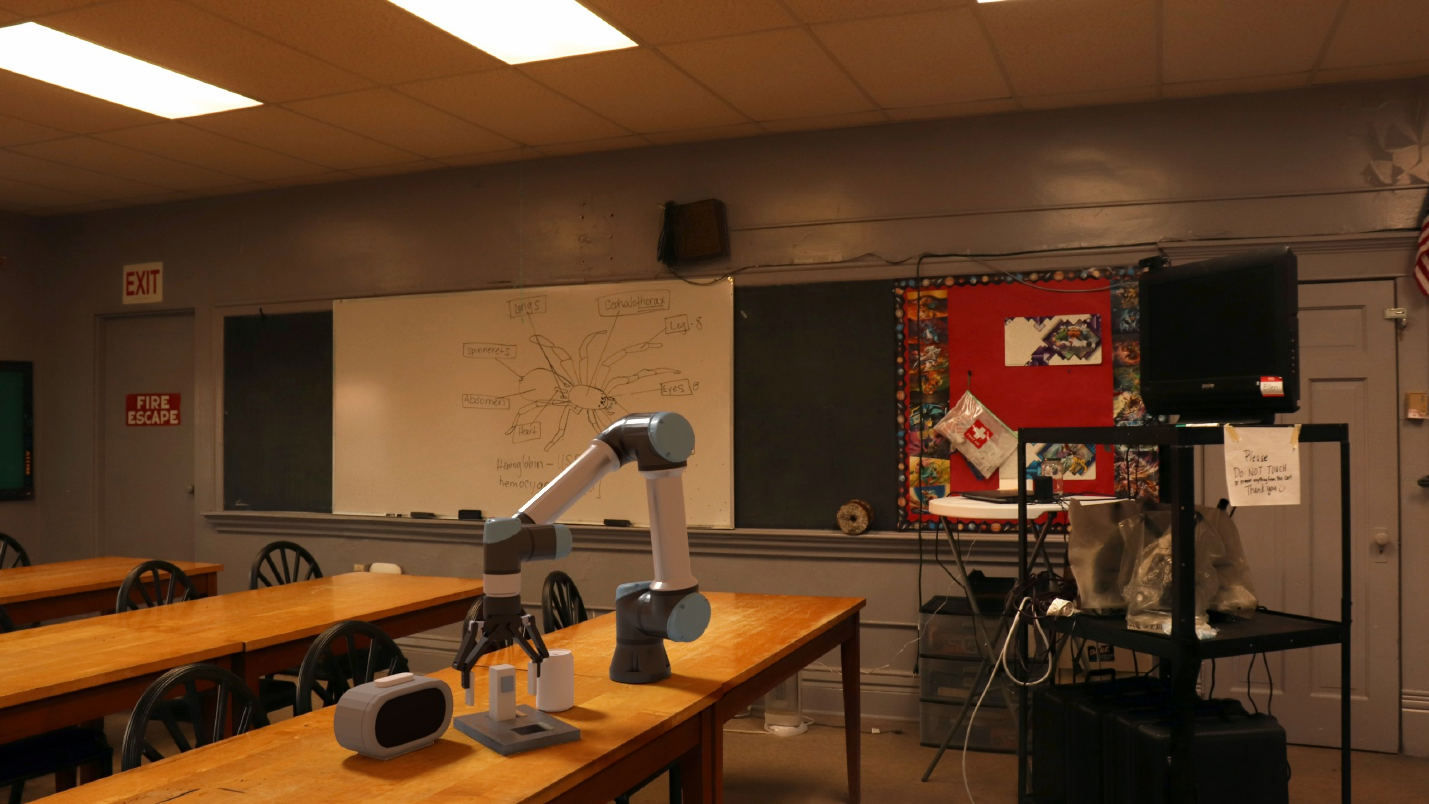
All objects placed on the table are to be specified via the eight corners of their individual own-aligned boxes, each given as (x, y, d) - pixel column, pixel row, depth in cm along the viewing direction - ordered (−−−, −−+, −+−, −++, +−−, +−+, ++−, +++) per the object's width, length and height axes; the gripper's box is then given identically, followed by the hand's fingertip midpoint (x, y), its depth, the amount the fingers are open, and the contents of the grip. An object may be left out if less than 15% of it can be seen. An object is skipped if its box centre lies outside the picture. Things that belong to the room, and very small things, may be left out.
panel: (525, 713, 210) (525, 703, 210) (580, 739, 191) (580, 728, 191) (453, 727, 200) (453, 716, 200) (503, 756, 181) (503, 744, 181)
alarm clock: (367, 768, 175) (367, 692, 176) (333, 760, 180) (333, 685, 181) (455, 738, 193) (455, 669, 193) (421, 731, 198) (421, 664, 198)
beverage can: (566, 714, 209) (566, 656, 210) (530, 712, 211) (530, 655, 211) (579, 704, 217) (578, 648, 218) (544, 702, 219) (544, 647, 219)
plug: (507, 722, 203) (507, 663, 204) (517, 728, 199) (517, 667, 200) (489, 726, 201) (489, 666, 201) (499, 731, 197) (499, 670, 197)
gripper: (548, 586, 212) (548, 686, 211) (435, 597, 197) (435, 705, 196) (565, 590, 206) (565, 693, 205) (450, 601, 191) (449, 713, 190)
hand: (501, 699), depth 200 cm, fingers open, 13 cm apart
